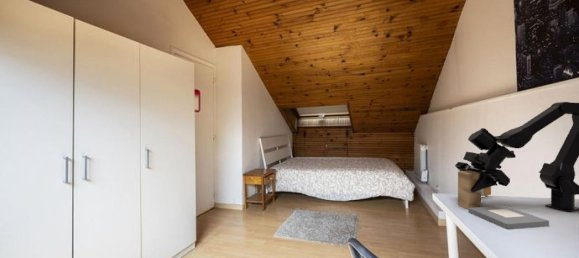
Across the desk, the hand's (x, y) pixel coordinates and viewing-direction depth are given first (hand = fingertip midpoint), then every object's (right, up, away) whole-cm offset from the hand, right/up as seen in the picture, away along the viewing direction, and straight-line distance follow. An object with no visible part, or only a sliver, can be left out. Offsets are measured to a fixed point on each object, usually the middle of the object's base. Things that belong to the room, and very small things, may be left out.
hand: (465, 189), depth 92 cm
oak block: (+2, -7, 0) cm, 7 cm away
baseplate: (+5, -7, -11) cm, 14 cm away
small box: (+16, -6, +14) cm, 22 cm away
